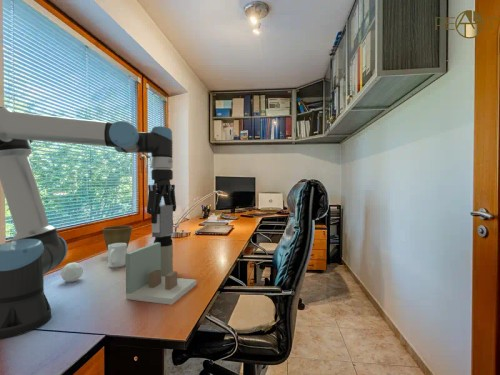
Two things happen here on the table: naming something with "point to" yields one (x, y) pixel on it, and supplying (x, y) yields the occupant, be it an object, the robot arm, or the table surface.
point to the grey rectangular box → (165, 221)
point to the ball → (71, 272)
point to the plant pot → (117, 234)
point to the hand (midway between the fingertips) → (162, 230)
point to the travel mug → (166, 254)
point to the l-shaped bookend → (152, 277)
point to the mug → (117, 254)
